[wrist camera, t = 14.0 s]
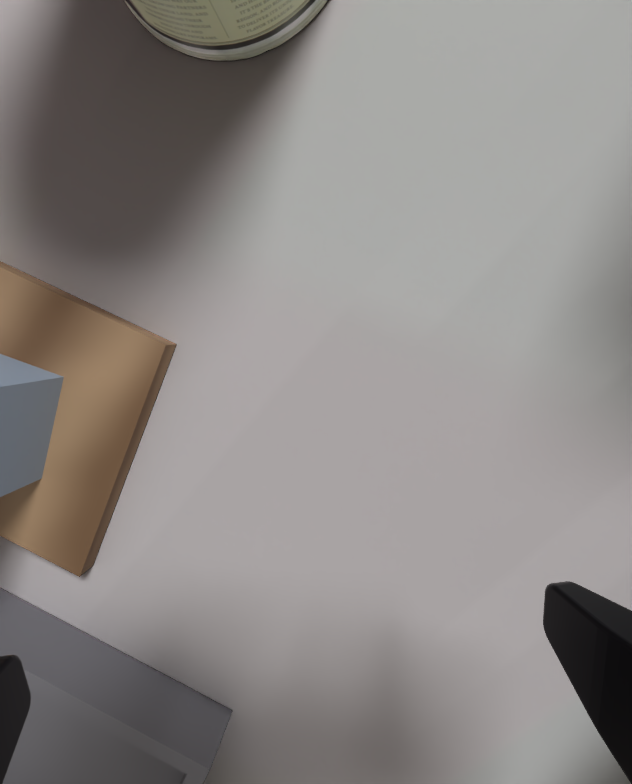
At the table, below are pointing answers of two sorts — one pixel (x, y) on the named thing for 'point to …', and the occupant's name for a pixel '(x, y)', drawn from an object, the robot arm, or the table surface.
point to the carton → (25, 421)
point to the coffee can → (224, 24)
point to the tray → (102, 710)
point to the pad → (77, 414)
